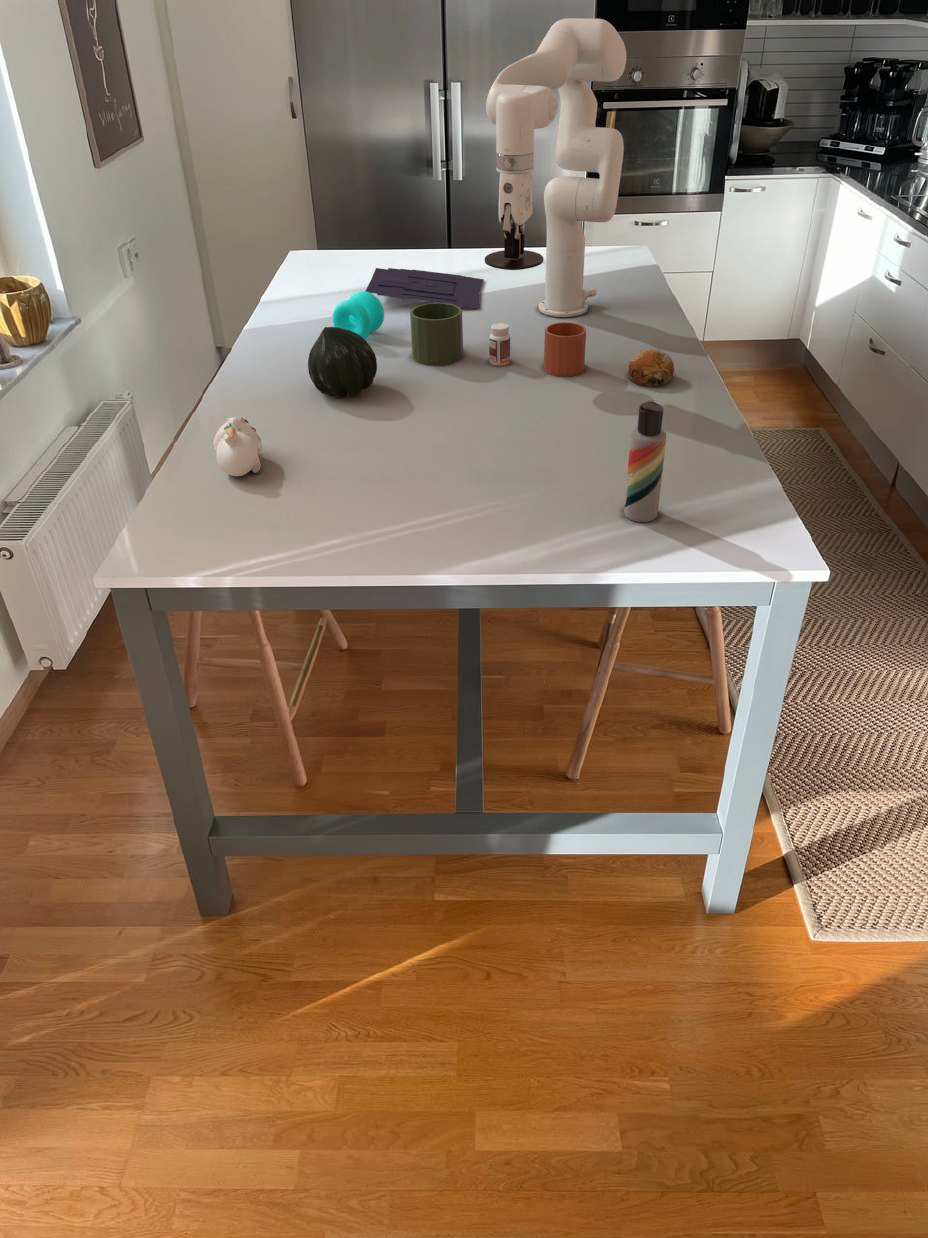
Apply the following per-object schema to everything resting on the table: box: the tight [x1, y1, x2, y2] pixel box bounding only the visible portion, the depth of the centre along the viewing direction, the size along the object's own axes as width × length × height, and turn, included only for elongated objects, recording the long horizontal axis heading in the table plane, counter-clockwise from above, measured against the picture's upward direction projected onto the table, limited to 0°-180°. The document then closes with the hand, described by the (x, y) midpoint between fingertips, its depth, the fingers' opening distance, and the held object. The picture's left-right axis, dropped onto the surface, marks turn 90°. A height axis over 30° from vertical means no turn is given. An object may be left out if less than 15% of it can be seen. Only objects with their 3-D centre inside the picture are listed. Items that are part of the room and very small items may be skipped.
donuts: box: [332, 290, 385, 340], centre depth 231 cm, size 10×10×10 cm
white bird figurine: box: [213, 416, 263, 477], centre depth 178 cm, size 10×8×15 cm
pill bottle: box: [488, 322, 511, 367], centre depth 216 cm, size 5×5×8 cm
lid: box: [484, 233, 545, 271], centre depth 203 cm, size 13×13×6 cm
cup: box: [543, 321, 587, 377], centre depth 212 cm, size 9×9×9 cm
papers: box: [365, 267, 485, 309], centre depth 257 cm, size 24×30×4 cm
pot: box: [409, 302, 464, 367], centre depth 219 cm, size 12×12×10 cm
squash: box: [307, 326, 378, 399], centre depth 204 cm, size 14×15×15 cm
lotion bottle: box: [623, 401, 667, 523], centre depth 157 cm, size 6×6×20 cm
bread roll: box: [628, 348, 675, 387], centre depth 208 cm, size 10×10×8 cm
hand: (514, 254), depth 204 cm, fingers closed on lid, 2 cm apart
